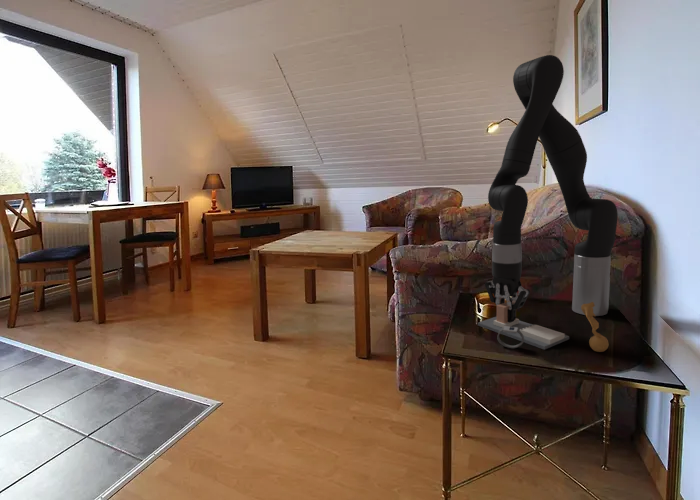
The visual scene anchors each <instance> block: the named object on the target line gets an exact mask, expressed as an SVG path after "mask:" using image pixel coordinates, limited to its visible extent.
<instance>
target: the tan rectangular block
mask: <svg viewBox="0 0 700 500" xmlns="http://www.w3.org/2000/svg"><path fill="white" fill-rule="evenodd" d="M496 316H497V320H494V321H493V325H496V326H499V327H502V328H504V326H508V327H510V326H513V325H515V324H518V323H519V320H520V319H519V318H516V319H515V320H514V321H513V322H508V321H507V316H508V304H507V301H505V303H503V304H500V305H497V306H496Z"/></svg>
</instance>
